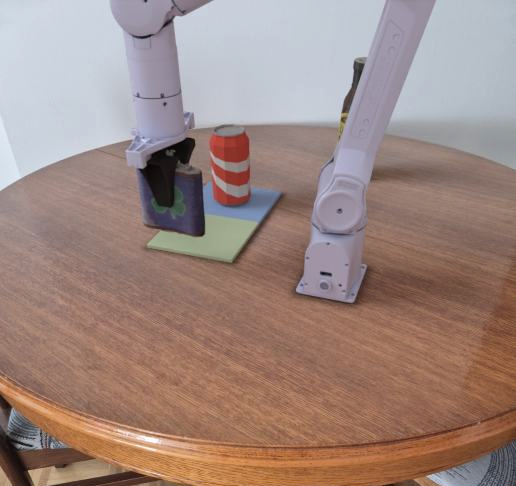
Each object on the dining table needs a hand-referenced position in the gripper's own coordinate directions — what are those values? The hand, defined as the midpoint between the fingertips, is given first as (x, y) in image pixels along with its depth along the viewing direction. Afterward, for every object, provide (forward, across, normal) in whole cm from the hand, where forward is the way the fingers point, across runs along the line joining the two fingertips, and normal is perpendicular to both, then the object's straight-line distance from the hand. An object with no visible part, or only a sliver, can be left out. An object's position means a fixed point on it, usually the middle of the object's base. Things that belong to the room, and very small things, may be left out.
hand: (171, 200), depth 72 cm
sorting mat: (+10, -15, 0) cm, 18 cm away
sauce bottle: (+11, -39, +17) cm, 44 cm away
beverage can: (+10, -21, 0) cm, 23 cm away
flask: (+4, 0, 0) cm, 4 cm away
